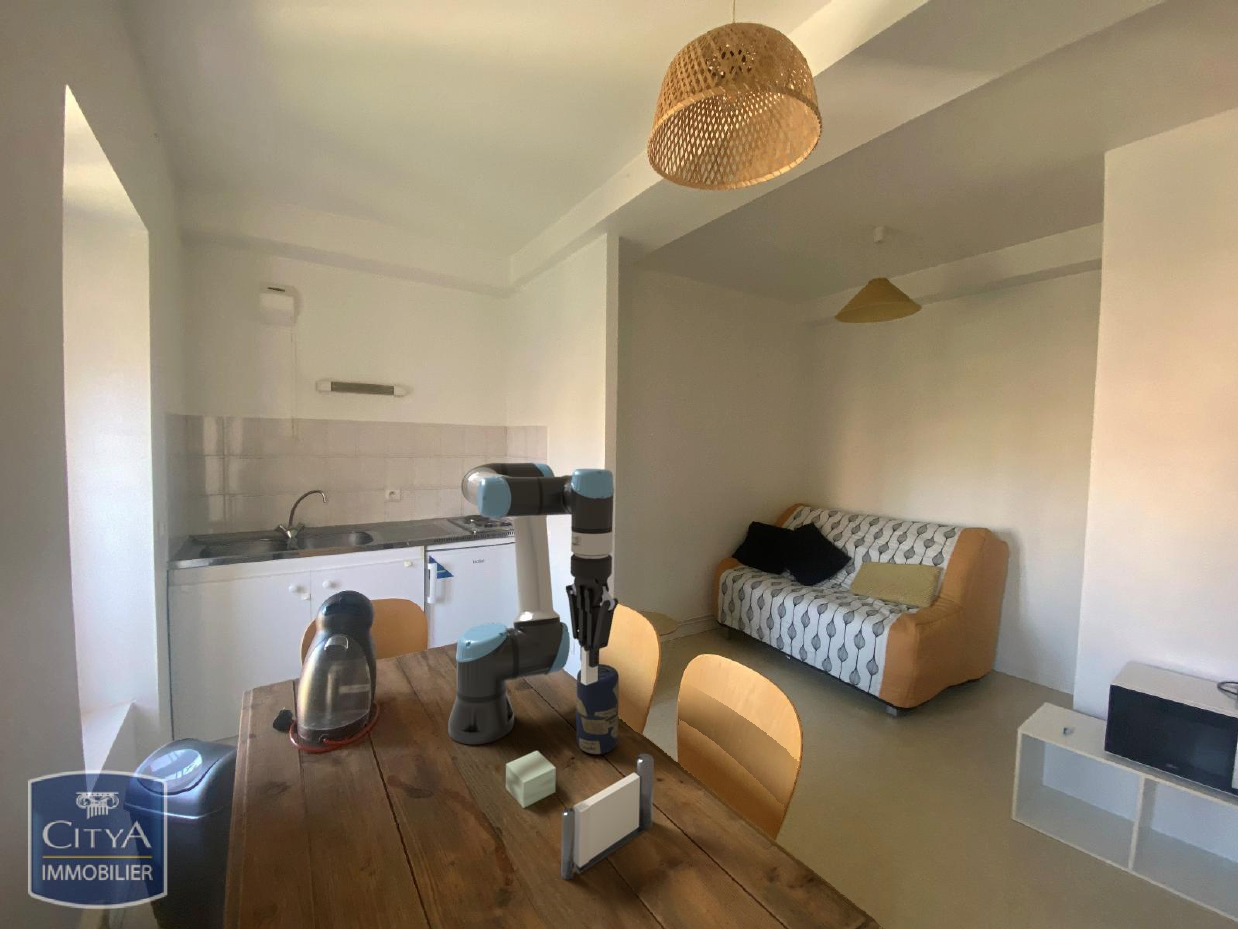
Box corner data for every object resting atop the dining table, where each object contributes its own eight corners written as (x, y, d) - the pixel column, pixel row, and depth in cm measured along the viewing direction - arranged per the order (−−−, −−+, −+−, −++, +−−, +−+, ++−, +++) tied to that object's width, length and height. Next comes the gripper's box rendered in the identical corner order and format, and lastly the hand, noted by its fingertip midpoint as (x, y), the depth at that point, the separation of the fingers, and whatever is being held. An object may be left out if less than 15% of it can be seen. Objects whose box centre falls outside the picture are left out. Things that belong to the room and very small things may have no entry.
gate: (632, 821, 89) (633, 772, 88) (639, 827, 87) (640, 777, 87) (572, 860, 80) (573, 806, 80) (579, 867, 79) (580, 812, 78)
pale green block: (505, 788, 98) (506, 764, 98) (536, 774, 103) (537, 750, 103) (523, 809, 93) (523, 782, 93) (555, 792, 97) (555, 767, 97)
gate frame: (556, 871, 79) (558, 797, 79) (644, 815, 92) (645, 751, 91) (567, 884, 77) (569, 808, 76) (655, 825, 89) (657, 759, 89)
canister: (612, 761, 107) (614, 678, 107) (570, 754, 109) (571, 673, 108) (621, 736, 117) (623, 660, 116) (582, 730, 118) (583, 655, 118)
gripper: (554, 550, 93) (552, 674, 94) (597, 563, 83) (594, 702, 84) (586, 545, 98) (584, 664, 99) (630, 557, 88) (628, 689, 89)
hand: (589, 681), depth 91 cm, fingers closed
